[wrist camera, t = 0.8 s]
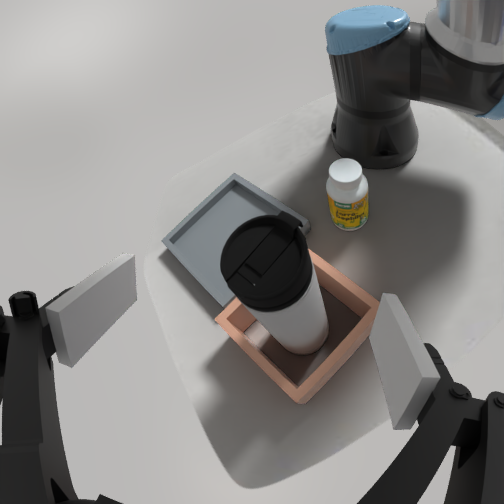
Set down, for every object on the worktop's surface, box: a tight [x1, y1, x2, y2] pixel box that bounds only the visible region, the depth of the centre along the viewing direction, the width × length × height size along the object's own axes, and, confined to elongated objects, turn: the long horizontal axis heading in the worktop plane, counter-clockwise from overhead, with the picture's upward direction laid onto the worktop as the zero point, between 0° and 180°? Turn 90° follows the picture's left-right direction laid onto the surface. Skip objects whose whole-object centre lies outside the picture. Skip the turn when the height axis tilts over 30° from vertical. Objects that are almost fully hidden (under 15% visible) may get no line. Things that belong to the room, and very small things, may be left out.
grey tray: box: [162, 173, 311, 309], centre depth 46 cm, size 16×16×2 cm
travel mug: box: [220, 211, 329, 355], centre depth 29 cm, size 6×7×20 cm
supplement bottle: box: [326, 158, 368, 231], centre depth 39 cm, size 5×5×10 cm
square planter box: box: [214, 249, 380, 404], centre depth 35 cm, size 13×13×6 cm
